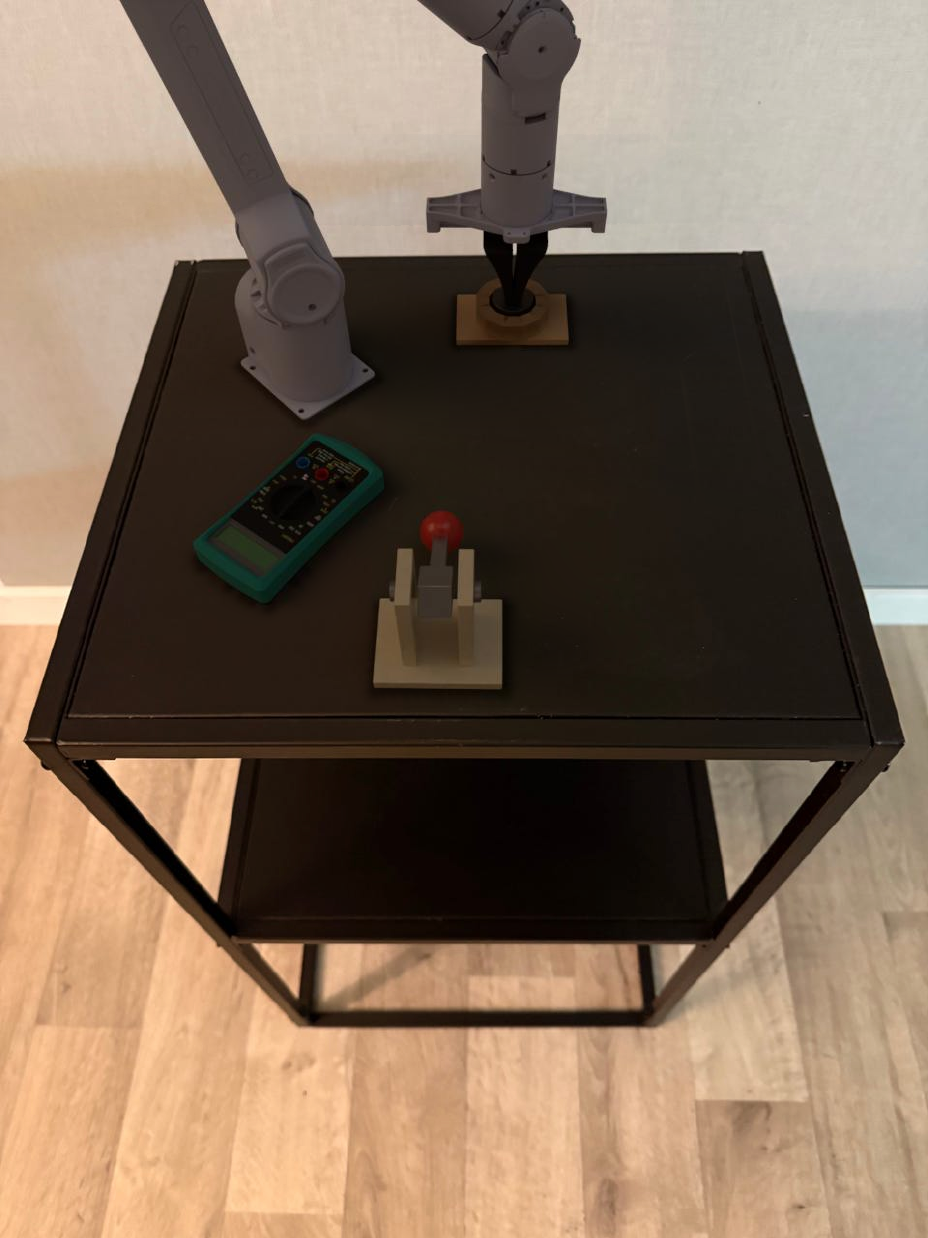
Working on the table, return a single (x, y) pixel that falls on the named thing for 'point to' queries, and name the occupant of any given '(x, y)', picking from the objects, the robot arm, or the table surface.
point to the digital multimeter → (289, 516)
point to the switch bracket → (438, 635)
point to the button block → (511, 319)
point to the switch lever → (438, 564)
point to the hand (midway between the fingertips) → (512, 297)
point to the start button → (512, 310)
